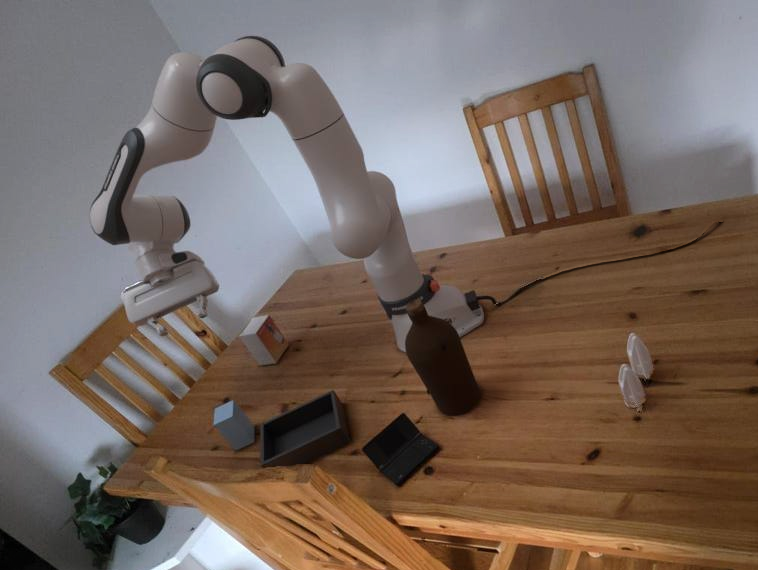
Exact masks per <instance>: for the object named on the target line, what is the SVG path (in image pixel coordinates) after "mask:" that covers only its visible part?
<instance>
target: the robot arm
mask: <svg viewBox="0 0 758 570" xmlns="http://www.w3.org/2000/svg"><path fill="white" fill-rule="evenodd" d="M269 113H272V114H274V115H275V116H277V118H278V119H279V120H280V121H281V123H282V124H283V126H284V128H285V129H286V131H287V133H288V135H289V136H290V139H292V142H293V144H294V145H295V147H296V149H297V150H298V152H299V154H300V156H301V158H302V159H303V161H304V163H305V164H306V166H307V168H308V170H309V172H310V174H311V175H312V178H313V180H314V182H315V185H316V188H317V190H318V193H319V197H320V199H321V202H322V205H323V207H324V211H325V214H326V216H327V220H328V223H329V231H330V238H331V242H332V244H333V246H334V247H335V248H336V250H337V251H338V252H339V253H340V254H341V255H343V256H345V257H347V258H350V259H355V260H362V259H363V265H364V269H365V272H366V274H367V275H368V278H369V280H370V281H371V284H372V285H373V288H374V290H375V291H376V294H377V297H378V302H379V304H380V306H381V308H382V310H383V312H384V314H385V316H386V317H387V318H388V319H389V321H390V323H391V326H392V329H393V332H394V336H395V342H396V346H397V348H398V349H399V350H400V351H401V352H403V353H406V349H405V339H406V336H407V334H408V331H409V329H410V327H411V325H412V321H411V320H410V318H409V316H408V312H407V310H406V308H405V307H406V305H407V304H408V303H409V302H410V301H412V300H416V299H418V300H421V302H422V304H423V305H424V306H425V309H426V311H427V313H428V315H429V316H432V317H437V318H441V319H444V320H446V321H448V322H449V323H450V324H451V325H452V326H453V327H454V328H455V329H456V331H457V332H458V334H459V337H460V338H462V337H463V336H464V335H465V336H466V334H468V333H470V332H471V331H473V330H474V329H476V328H477V327H479V326H481V325H482V324H483V323H484V320H485V312H484V309H483V307H482V306H481V304H480V302H479V301H484V300H488V301H491V302H492V304H493V305H494V304H496V303H497V302H498V304H496V305H494V306H495V307H501V306H504V305H505V304H507V303H508V302H509V301H511V300H512V299H515V297H517V296H518V295H520V294H521V292H523V291H524V290H526V289H529V287H531V286H533V285H535V284H537V283H539V282H541V281H543V280H545V279H543V280H542V279H539V280H536V281H534V282H532V283H530V282H529V283H530V284H528V283H527V284H528V285H526V284H525V285H526V286H524V285H523V286H524V287H522V286H521V287H522V288H521V287H519V288H518V289H517V290H516V291H515V292H513V294H511V295H510V296H509V297H508V298H507V299H505V300H503V301H497V300H496V298H495V297H493V296H491V295H477V293H476V291H475V289H473V290H470V291H467V292H465V293H464V292H463V291H462V290H461V289H460V288H458V287H456V286H455V285H449V284H440V283H439V282H438V281H437V280H435V278H434V277H433V275H431V274H430V272H428V271H425V272H426V274H425V273H422V271H421V269H420V267H419V264H418V262H417V260H416V258H415V255H414V253H413V251H412V247H411V245H410V241H409V238H408V234H407V230H406V225H405V223H404V219H403V216H402V212H401V210H400V207H399V202H398V198H397V192H396V187H395V184H394V183H393V181H392V179H390V177H389V176H387V175H386V174H384V173H383V172H380V171H376V170H370V171H368V169H367V166H366V162H365V161H366V160H365V155H364V151H363V148H362V146H361V144H360V142H359V140H358V138H357V137H356V134H355V132H354V131H353V128H352V126H351V125H350V123H349V121H348V119H347V117H346V115H345V113H344V111H343V109H342V107H341V106H340V104H339V102H338V100H337V99H336V96H335V95H334V94H333V92H332V91H331V89H330V87H329V86H328V84H327V83H326V82H325V80H324V79H323V78H322V76H321V75H320V74H319V72H318V71H317V70H316V69H315V68H314V67H313V66H312V65H310V64H307V63H305V62H303V63H302V62H295V63H290V64H287V65H286V63H285V59H284V56H283V54H282V53H281V51H280V50H279V48H278V47H277V46H276V45H275V44H274V43H273V42H272V41H270V40H269V39H267V38H266V37H262V36H258V35H246V36H242V37H239V38H237V39H235V40H234V41H233V42H229V43H227V44H224V45H222V46H221V47H220V48H218V49H217V50H215V52H214V53H213V54H211V55H209V56H208V57H207V58H204V57H202V56H200V55H198V54H196V53H192V52H186V51H184V52H183V51H182V52H176V53H173V54H172V55H170V56H169V57H168V58H167V59H166V61H165V63H164V65H163V67H162V70H161V72H160V74H159V77H158V79H157V83H156V86H155V89H154V93H153V97H152V101H151V105H150V108H149V110H148V112H147V114H146V115H145V117H143V119H142V120H141V121H140V122H139V123H138V124H137V125H136V126H135V127H133V128H131V129H129V130H128V131H127V132H126V133H125V134H124V136H123V137H122V139H121V141H120V143H119V145H118V148H117V149H116V152H115V154H114V157H113V160H112V162H111V165H110V167H109V168H108V169H109V170H108V172H107V175H106V177H105V178H104V179H105V180H104V182H103V184H102V187H101V189H100V191H99V192H98V194H97V196H96V197H95V199H94V200H93V202H92V204H91V206H90V209H89V221H90V222H89V224H90V226H91V230H92V232H93V233H94V234H95V235H96V236H97V237H99V238H100V239H102V240H103V241H104V242H106V243H108V244H110V245H111V246H119V245H127V247H128V249H129V251H130V252H131V253H132V255H133V258H134V264H135V268H136V269H137V273H138V274H139V277H140V280H138V281H136V282H134V283H133V284H130V285H128V286H125V287H124V290H123V291H122V292H121V294H120V300H121V302H122V304H123V306H124V309H125V310H124V311H125V314H126V317H127V320H128V321H129V323H131V324H132V325H135V326H138V327H143V326H145V325H147V324H148V325H150V326H151V327H153V328H154V329H156V332H157V334H158V336H160V337H162V338H163V337H165V336H167V335H169V334H170V332H169V331H168V327H167V326H164V325H159V323H160V322H159V321H160V320H159V319H160V318H163V317H165V316H167V315H169V314H172V313H173V312H176V311H178V310H180V309H183V308H185V307H187V306H190V305H191V304H194V303H195V302H196V303H197V302H199V308H197V309H196V310H195V311H196V313H197V316H198V318H199V319H204V318H207V317H209V314H208V311H207V307H208V301H209V300H208V298H207V297H209V296H211V295H214V294H216V293H217V292H219V290H220V284H219V281H218V279H217V277H216V276H215V274H214V273H213V271H212V270H211V268H209V266H206V265H205V264H206V263H205V261H204V259H203V258H202V257H201V256H199V255H198V254H196V253H195V252H193V251H190V250H184V251H176V250H175V247H174V245H175V244H178V243H180V241H181V240H182V239H184V237H185V236H186V235H187V233H188V232H189V231H190V229H191V218H190V214H189V212H188V210H187V207H186V206H185V205H184V204H183V202H182V201H181V200H180V199H179V198H177V197H176V196H173V195H162V194H159V195H158V194H154V195H153V194H149V195H136V194H135V193H136V190H137V188H138V185H139V183H140V181H141V179H142V177H143V176H144V175H146V173H148V172H150V171H152V170H153V169H157V168H159V167H162V166H165V165H169V164H173V163H179V162H183V161H184V162H185V161H189V160H191V159H194V158H196V157H198V156H200V155H201V154H203V153H204V152H205V150H206V149H207V148H208V146H209V144H210V143H211V141H212V138H213V136H214V131H215V127H216V124H217V121H218V120H217V119H218V117H219V118H220V119H224V120H229V121H237V120H238V121H240V120H246V119H257V118H266V117H267V115H268V114H269ZM541 277H542V276H541ZM542 278H543V277H542ZM479 304H480V305H479ZM480 306H481V307H480ZM482 311H483V312H482ZM482 314H483V316H482Z"/></svg>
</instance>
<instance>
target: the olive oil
mask: <svg viewBox="0 0 758 570" xmlns="http://www.w3.org/2000/svg"><path fill="white" fill-rule="evenodd" d="M405 308H406V310H407V312H408V316H409V318H410V320H411V321H412V325H411V327H410V329H409V331H408V334H407V336H406V339H405V349H406V352H405V353H406V356H407V359H408V361H409V362H410V364H411V365H412V367H413V369H414V370H415V372H416V374H417V375H418V376H419V378H420V380H421V382H422V384H423V385H424V387H425V388H426V393H427V394H428V396H431V399H432V400H433V402H434V404H435V406H436V407H437V409H438V411H440V413H441V414H443V415H445V416H451V417H452V416H453V417H454V416H459V415H463V414H465V413H467V412H469V411H470V410H472V409H473V408H474V407H476V405H477V404H478V402H479V400H480V398H481V389H480V387H479V384H478V382H477V380H476V377H475V375H474V374H475V373H474V372H473V369H472V367H471V364H470V362H469V359H468V356H467V353H466V351H465V348H464V345H463V343H462V340H461V337H459V334H458V332H457V331H456V329H455V328H454V327H453V326H452V325H451V324H450V323H449V322H448V321H446V320H444V319H441V318H437V317H432V316H429V315H428V313H427V311H426V309H425V306H424V305H423V304H422V302H421V300H418V299H416V300H412V301H410V302H409V303H408V304H407V305H406V307H405Z"/></svg>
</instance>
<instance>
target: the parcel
mask: <svg viewBox="0 0 758 570" xmlns="http://www.w3.org/2000/svg"><path fill="white" fill-rule="evenodd" d="M213 415H214V417H213V426H214V428H215V429H216V430H217V431H218V433H220V434H221V436H222V437H223V438H224V439H225V440H226V441H227V442H228V444H229V445H230V446H231V447H232V448H233V449H234V451H238V450H240V449H243V448H244V447H247V446H249V445H251V444H254V443H255V424H254V423H253V422H252V421H251V420H250V419H249V417H248V416H247V415H246V413H245V412H244V411H243V410H242V409H241V407H240V406H239V405H238V403H236V402H235V400H234V399H232V400H230V401H228V402H226V403H224V404H222V405H220V406H217V407H216V408H214V414H213Z"/></svg>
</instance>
